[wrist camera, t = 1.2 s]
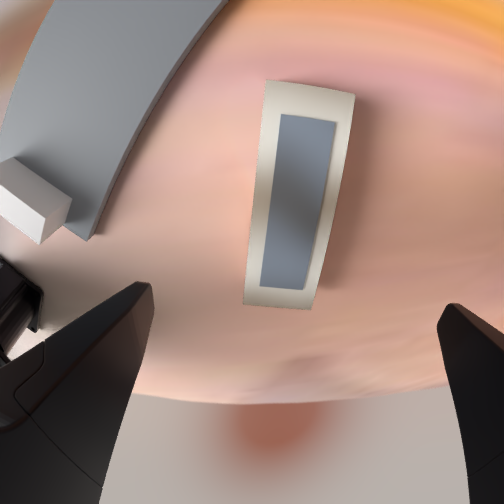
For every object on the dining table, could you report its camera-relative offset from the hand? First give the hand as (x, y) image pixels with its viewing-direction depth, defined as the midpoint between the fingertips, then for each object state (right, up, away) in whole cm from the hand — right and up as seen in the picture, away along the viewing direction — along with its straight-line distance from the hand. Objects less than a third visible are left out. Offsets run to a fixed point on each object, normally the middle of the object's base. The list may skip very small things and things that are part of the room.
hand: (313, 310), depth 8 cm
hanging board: (-11, +12, +5) cm, 17 cm away
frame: (0, +5, +9) cm, 10 cm away
